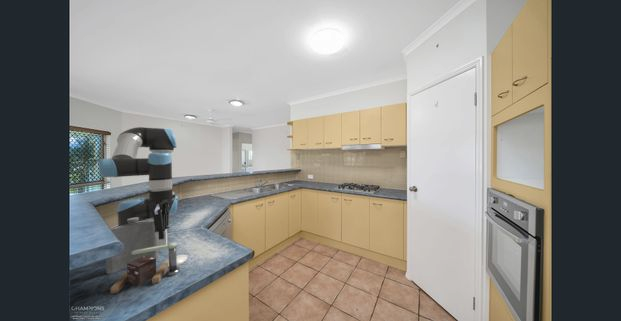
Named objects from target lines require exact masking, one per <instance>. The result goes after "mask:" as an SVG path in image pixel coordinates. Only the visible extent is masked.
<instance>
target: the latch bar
mask: <svg viewBox="0 0 621 321" xmlns="http://www.w3.org/2000/svg"><path fill="white" fill-rule="evenodd" d="M175 247H176V248H177V247H178V242H170V243H167V245H161V246H155V247H150V248H144V249H138V250H134V251H132V255H134V254H140V253H145V252H151V251H156V250H158V251H161V250H169V249H173V248H175Z"/></svg>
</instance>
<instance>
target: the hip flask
mask: <svg viewBox="0 0 621 321" xmlns="http://www.w3.org/2000/svg"><path fill="white" fill-rule="evenodd" d="M138 220H139V217H134V218H130V219H127V222H128V224H126V225H122V226H112V227H109V228H110V229H111V230H112V232H113V233H114V234H115V235H116V237H117V238H118V239H119V240H120V241H121V242H122V243H123V244H124V247H125V248H124V250H123V251H122V252H121V253H120V254H118V255H116V256H114V257H111V258H108V259H106V258H105V259H106V260H105V261H106V274H107V275H110V273H111V274H114V273H116V272H119V271H122V270H124V269H127V263H130V262H132V261H134V260H137V259H139V258H141V257H143V256H151V257H155V258H156V260H157V259H158V258H159V250H156V251H151V252H145V253H140V254H134V255H132V251H134V250H138V249H144V248H150V247H155V246H158V232H155V226H154V218H152V219H147V220H144V221H138Z"/></svg>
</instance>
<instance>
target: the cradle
mask: <svg viewBox="0 0 621 321" xmlns="http://www.w3.org/2000/svg"><path fill="white" fill-rule="evenodd" d="M168 270H169V268H168V263H165V264H162V263H161V264H160V266H159V268H158V269H157V270H156V274H155V275H154V276H153V278H152V279H151V285H154V284H159V283H160V281H161V280H162V278H163V277H164V275H166V272H167V271H168ZM126 284H128V279H127V270H126V271H125V272H124V273H123V274H122V275H121V277H120V278H118V280H117V281H115V283H114V284H113V285H112V286H111V287H110V295H111V294H112V295H113V294H116V293H119V292H120V291H121V290H122V289H123V288H124V287H125V285H126Z"/></svg>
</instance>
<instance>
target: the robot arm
mask: <svg viewBox="0 0 621 321" xmlns="http://www.w3.org/2000/svg"><path fill="white" fill-rule="evenodd" d="M116 142H117V145H116V147H115V149H114V152H113V154H112V155H111V158H110V157H109V158H103V159H101V160H99V163H98V167H99V168H98V171H99V174H100V176H101V177H103V178H119V177H120V178H121V177H137V176H138V177H139V176H148V182H147V185H149V186H148V189H149V190H150V191H149V192H148V195H149V196H148V198H147V197H146V196H141V197H140V196H139V197H133V198H130V199H126V200H123V201H120V202H119V203H118V204H117V210H116V212H117V225H118V226H122V225H126V224H128V222H127V219H130V218H134V217H139V220H138V221H144V220H150V219H154V226H155V232H158V246H161V245H167V244H168V229H169V228H170V224H169V222H170V221H169V220H170V217H169V216H171V215H172V216H173V215H175V214H176V212H177V207H178V202H179V201H178V199H179V197H178V195H176V193H175V192H174V190H173V189H172V188H173V176H172V175H173V174H172V173H173V166H172V165H173V164H172V162H173V160H172V153H173V152H174V151H175V149H177V141H176V136H175V132H174V131H173V130H172V129H169V128H159V127H141V126H138V127H133V128H129V129H127V130H124V131H122V132H120V134H119V135H118V137H117V138H116ZM140 148H148V149H149V150H148V151H149V152H150V153H149V154H148V156H147V158H138V157H137V156H138V151H139V149H140Z"/></svg>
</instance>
